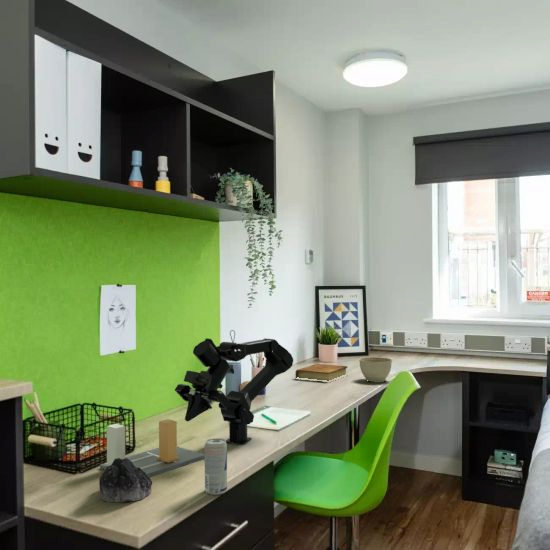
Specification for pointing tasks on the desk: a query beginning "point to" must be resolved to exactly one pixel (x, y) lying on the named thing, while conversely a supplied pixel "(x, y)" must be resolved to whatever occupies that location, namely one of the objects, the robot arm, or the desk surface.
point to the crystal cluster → (124, 482)
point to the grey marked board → (154, 466)
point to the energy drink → (215, 466)
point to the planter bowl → (375, 368)
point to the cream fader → (115, 443)
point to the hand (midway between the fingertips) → (186, 420)
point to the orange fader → (167, 441)
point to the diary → (321, 372)
